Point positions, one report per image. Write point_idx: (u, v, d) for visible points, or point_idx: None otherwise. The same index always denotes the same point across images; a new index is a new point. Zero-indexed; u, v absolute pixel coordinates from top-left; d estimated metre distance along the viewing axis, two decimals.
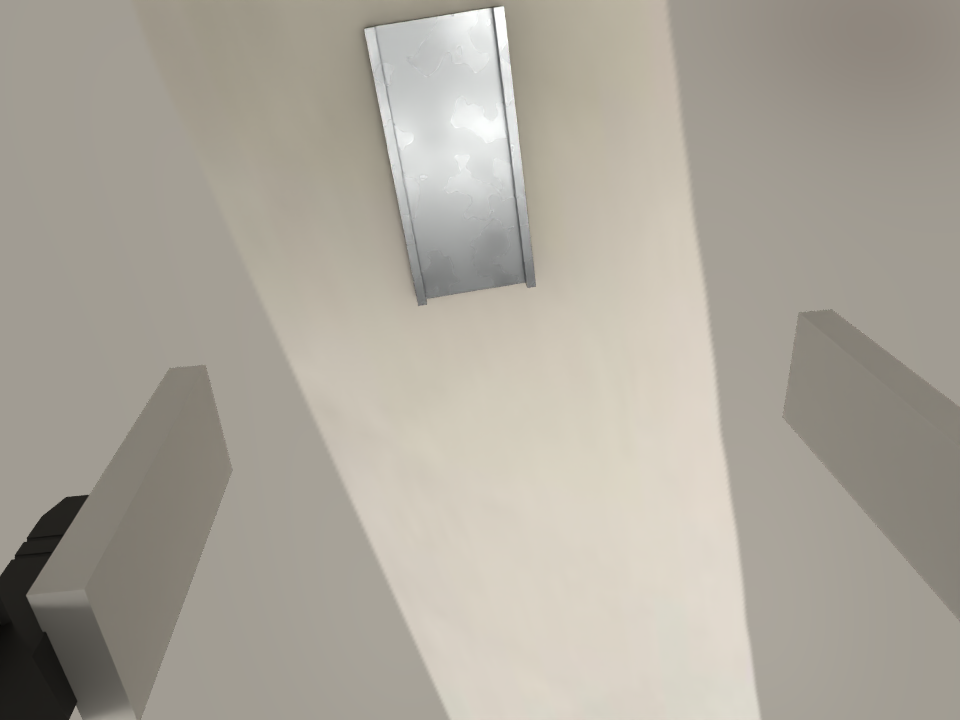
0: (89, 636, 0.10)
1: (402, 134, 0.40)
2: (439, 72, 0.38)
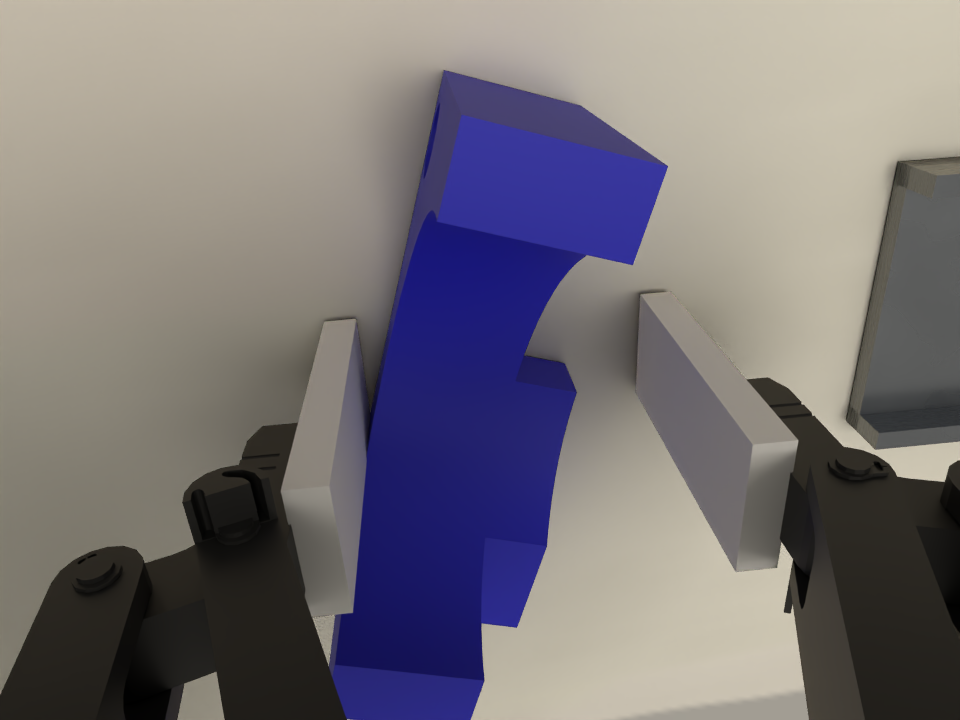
0: (326, 529, 0.12)
1: None
2: None
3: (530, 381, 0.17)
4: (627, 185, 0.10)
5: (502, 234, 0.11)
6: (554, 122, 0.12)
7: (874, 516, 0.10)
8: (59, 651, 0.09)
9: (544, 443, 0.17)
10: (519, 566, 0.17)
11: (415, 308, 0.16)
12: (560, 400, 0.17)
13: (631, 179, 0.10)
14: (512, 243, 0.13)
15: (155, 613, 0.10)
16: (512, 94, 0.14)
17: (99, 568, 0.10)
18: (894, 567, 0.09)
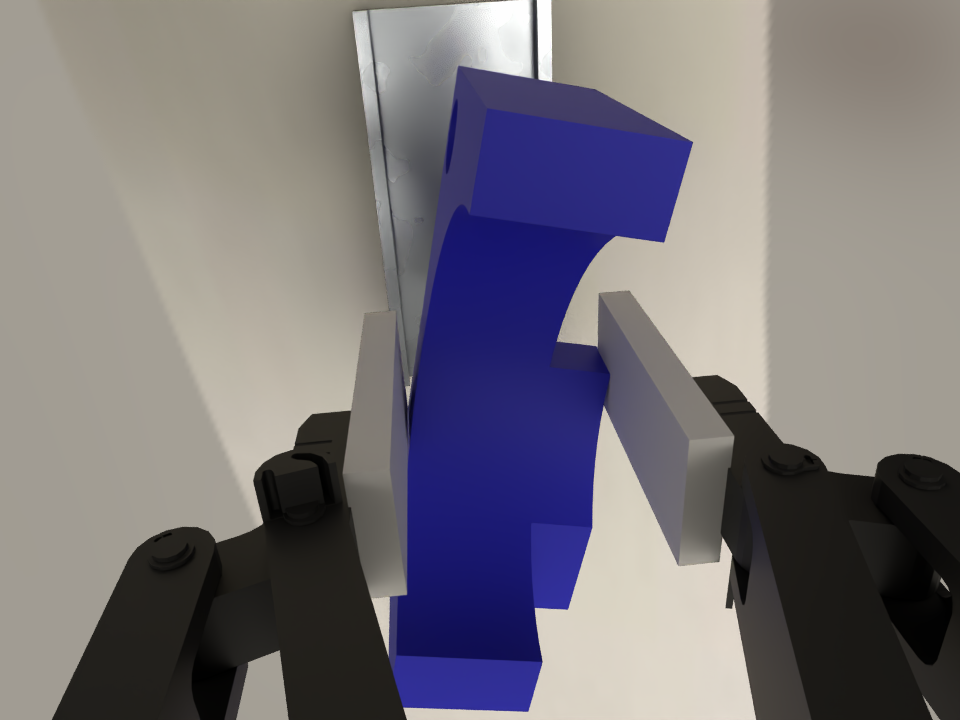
0: (384, 512, 0.12)
1: (395, 161, 0.29)
2: (452, 81, 0.28)
3: (564, 366, 0.17)
4: (654, 164, 0.11)
5: (534, 222, 0.11)
6: (575, 108, 0.12)
7: (808, 511, 0.10)
8: (134, 626, 0.09)
9: (582, 426, 0.18)
10: (566, 549, 0.18)
11: (447, 303, 0.16)
12: (595, 383, 0.17)
13: (657, 157, 0.11)
14: (540, 231, 0.14)
15: (227, 591, 0.11)
16: (528, 84, 0.14)
17: (173, 547, 0.10)
18: (830, 560, 0.10)
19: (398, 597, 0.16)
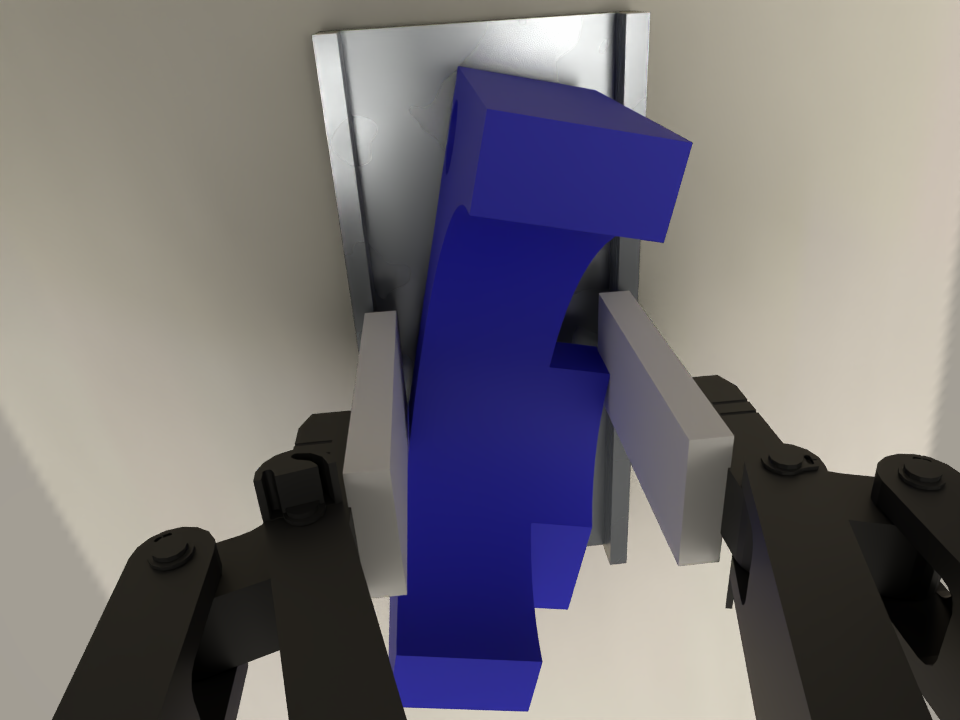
0: (384, 512, 0.12)
1: (386, 268, 0.18)
2: None
3: (564, 366, 0.17)
4: (653, 164, 0.11)
5: (534, 222, 0.11)
6: (575, 108, 0.12)
7: (808, 511, 0.10)
8: (134, 626, 0.09)
9: (582, 426, 0.18)
10: (566, 549, 0.18)
11: (446, 303, 0.16)
12: (595, 383, 0.17)
13: (656, 158, 0.11)
14: (539, 231, 0.14)
15: (228, 591, 0.11)
16: (528, 84, 0.14)
17: (173, 547, 0.10)
18: (829, 560, 0.10)
19: (398, 597, 0.16)
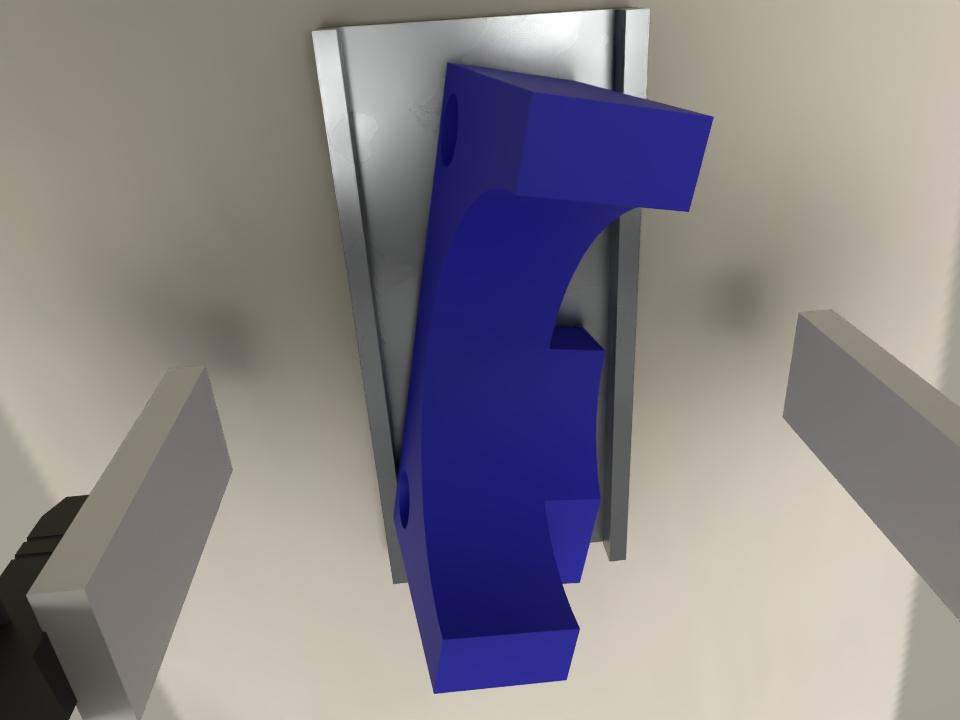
0: (89, 636, 0.10)
1: (386, 264, 0.18)
2: None
3: (562, 347, 0.18)
4: (680, 138, 0.11)
5: (574, 199, 0.11)
6: (590, 93, 0.13)
7: None
8: None
9: (582, 404, 0.18)
10: (577, 523, 0.18)
11: (453, 293, 0.16)
12: (591, 360, 0.18)
13: (683, 132, 0.11)
14: (552, 213, 0.14)
15: None
16: (523, 76, 0.15)
17: None
18: None
19: (431, 585, 0.16)
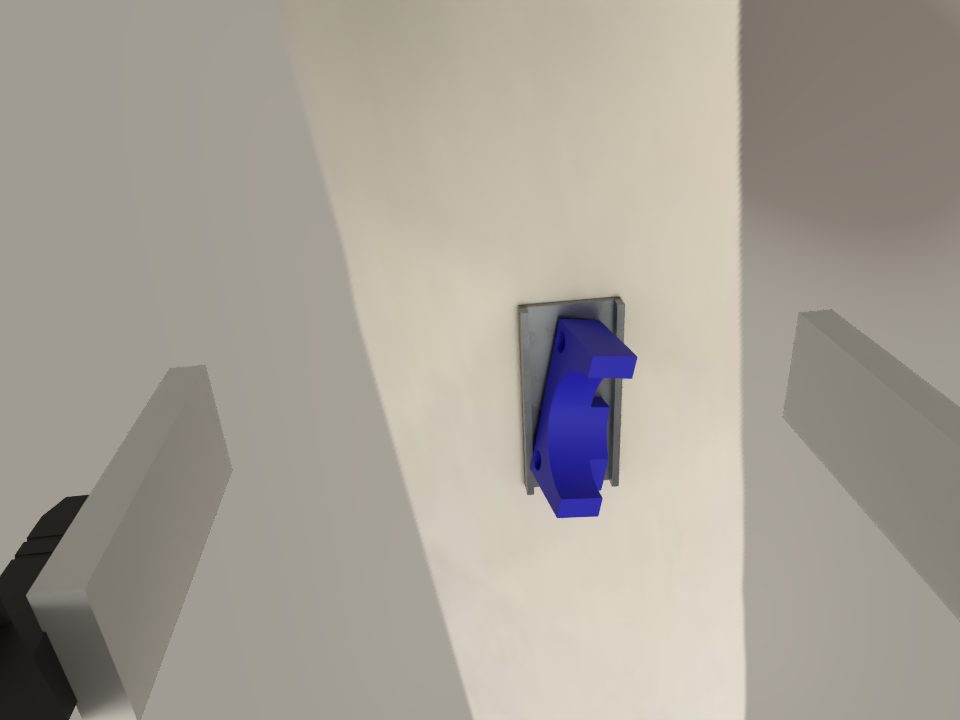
0: (89, 636, 0.10)
1: (534, 377, 0.52)
2: None
3: (595, 406, 0.52)
4: (629, 362, 0.45)
5: (602, 377, 0.45)
6: (605, 344, 0.47)
7: None
8: None
9: (601, 425, 0.52)
10: (600, 467, 0.52)
11: (560, 391, 0.50)
12: (605, 410, 0.52)
13: (629, 360, 0.45)
14: None
15: None
16: (584, 327, 0.49)
17: None
18: None
19: (555, 485, 0.50)
